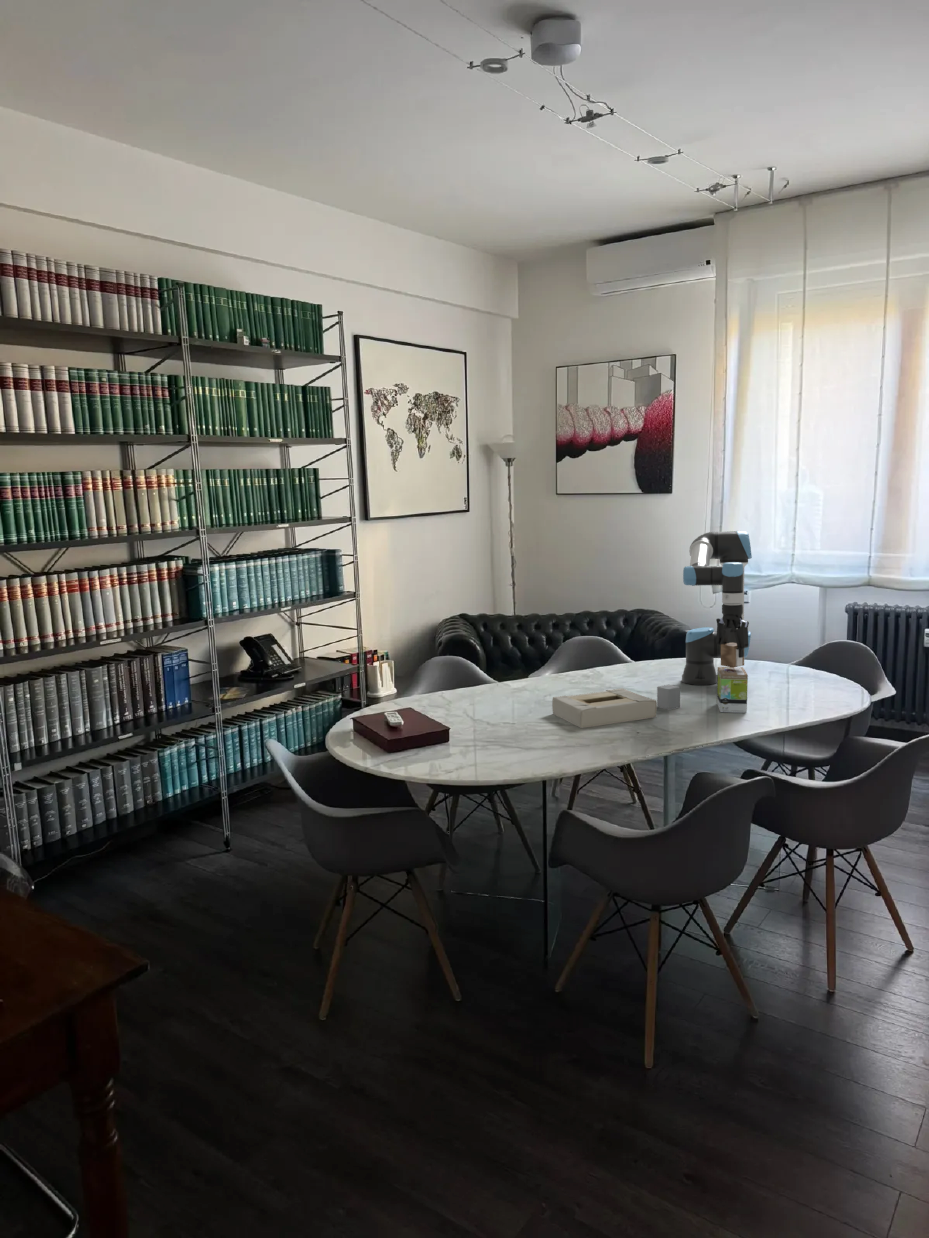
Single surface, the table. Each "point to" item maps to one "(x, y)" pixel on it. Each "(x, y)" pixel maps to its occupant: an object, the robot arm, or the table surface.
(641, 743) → the table surface
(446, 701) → the table surface
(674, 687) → the slate block
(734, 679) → the tea box
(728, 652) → the walnut block
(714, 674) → the robot arm
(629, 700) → the box
